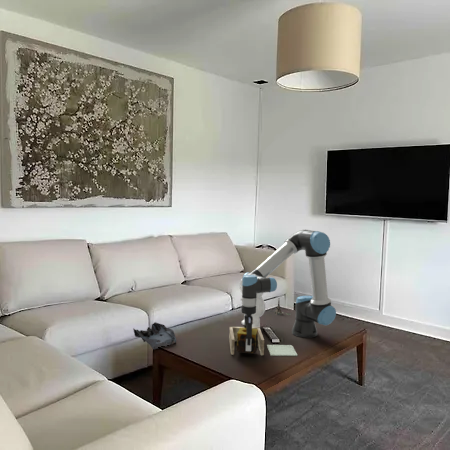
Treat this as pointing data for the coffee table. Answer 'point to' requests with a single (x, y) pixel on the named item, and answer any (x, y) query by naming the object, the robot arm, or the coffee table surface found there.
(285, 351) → the felt mat
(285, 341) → the coffee table surface
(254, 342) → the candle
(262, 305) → the teddy bear
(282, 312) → the eiffel tower figurine
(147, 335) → the crumpled grey paper
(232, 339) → the wooden u-shaped frame
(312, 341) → the coffee table surface
